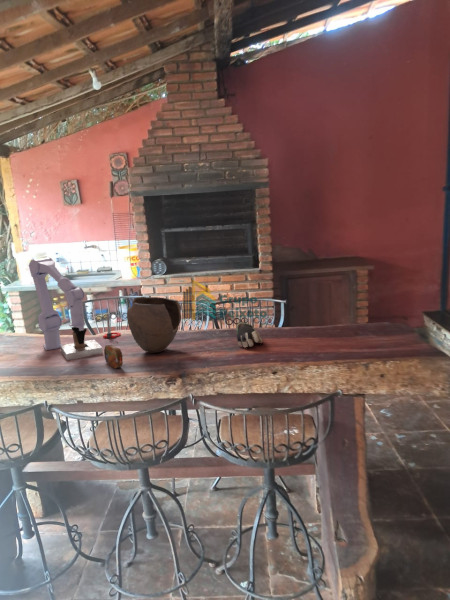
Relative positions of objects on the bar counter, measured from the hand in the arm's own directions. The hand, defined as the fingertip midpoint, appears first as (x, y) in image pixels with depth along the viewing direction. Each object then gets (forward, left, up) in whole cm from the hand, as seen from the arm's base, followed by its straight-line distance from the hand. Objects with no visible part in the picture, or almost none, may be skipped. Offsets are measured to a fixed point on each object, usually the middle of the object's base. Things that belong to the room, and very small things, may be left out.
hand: (80, 342), depth 211 cm
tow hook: (-20, +20, -5) cm, 29 cm away
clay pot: (+21, +30, -5) cm, 37 cm away
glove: (+35, +71, -5) cm, 79 cm away
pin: (0, 0, -3) cm, 3 cm away
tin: (+28, +8, -5) cm, 30 cm away
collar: (0, 0, -5) cm, 5 cm away
